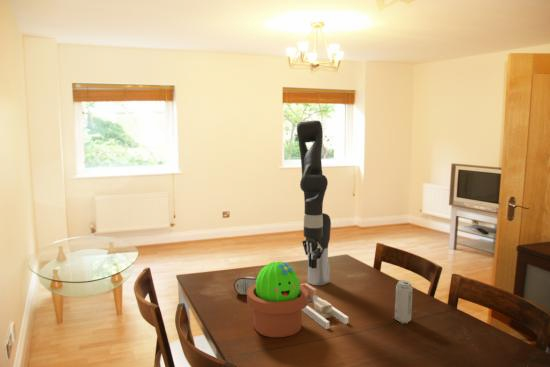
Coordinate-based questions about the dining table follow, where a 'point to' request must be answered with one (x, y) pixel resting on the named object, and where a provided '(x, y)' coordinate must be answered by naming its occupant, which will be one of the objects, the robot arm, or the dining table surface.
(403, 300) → the energy drink can
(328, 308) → the block
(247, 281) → the tin
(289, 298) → the potted cactus
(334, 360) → the dining table surface
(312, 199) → the robot arm
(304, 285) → the rail channel
